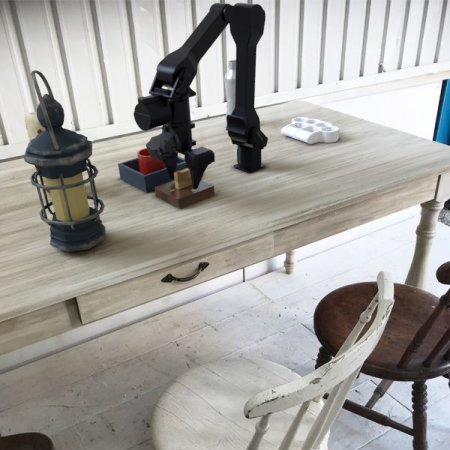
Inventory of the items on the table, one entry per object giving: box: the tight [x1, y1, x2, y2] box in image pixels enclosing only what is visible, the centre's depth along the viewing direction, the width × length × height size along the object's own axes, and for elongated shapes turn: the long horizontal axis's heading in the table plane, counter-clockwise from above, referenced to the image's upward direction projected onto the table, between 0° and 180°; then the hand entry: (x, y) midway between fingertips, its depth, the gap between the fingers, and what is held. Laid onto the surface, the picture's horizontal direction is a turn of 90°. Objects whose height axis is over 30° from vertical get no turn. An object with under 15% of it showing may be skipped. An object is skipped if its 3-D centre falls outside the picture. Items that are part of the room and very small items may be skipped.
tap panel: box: [154, 179, 216, 210], centre depth 130 cm, size 10×11×3 cm
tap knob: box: [174, 168, 192, 190], centre depth 128 cm, size 4×1×4 cm, turn 131°
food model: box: [24, 111, 50, 194], centre depth 130 cm, size 10×7×20 cm
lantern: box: [23, 69, 107, 253], centre depth 103 cm, size 14×13×35 cm
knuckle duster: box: [280, 116, 340, 145], centre depth 162 cm, size 3×18×15 cm
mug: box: [137, 147, 166, 175], centre depth 139 cm, size 9×7×6 cm
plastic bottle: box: [223, 59, 236, 123], centre depth 169 cm, size 6×7×20 cm
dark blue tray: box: [117, 155, 187, 193], centre depth 140 cm, size 13×15×4 cm
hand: (183, 183), depth 129 cm, fingers open, 9 cm apart
